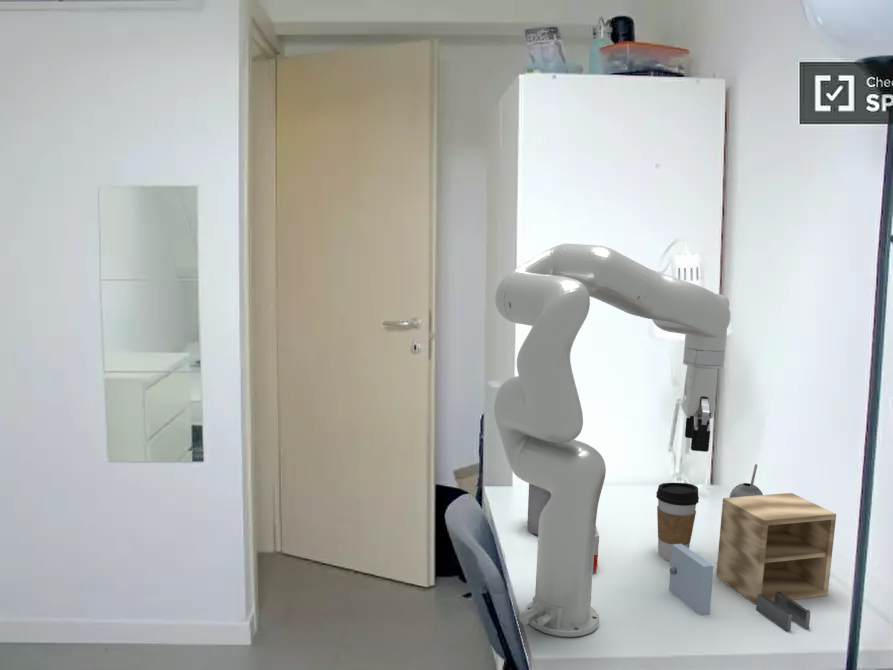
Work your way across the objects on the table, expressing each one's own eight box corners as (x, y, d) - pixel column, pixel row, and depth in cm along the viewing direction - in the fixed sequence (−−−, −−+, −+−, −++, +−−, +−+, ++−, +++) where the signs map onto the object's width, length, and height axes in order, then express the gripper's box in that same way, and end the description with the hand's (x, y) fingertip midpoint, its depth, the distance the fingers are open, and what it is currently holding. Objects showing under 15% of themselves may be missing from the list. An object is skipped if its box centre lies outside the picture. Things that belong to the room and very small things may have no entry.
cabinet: (827, 595, 154) (836, 514, 152) (755, 604, 149) (763, 520, 147) (784, 569, 165) (791, 492, 163) (716, 576, 160) (722, 498, 158)
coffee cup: (695, 566, 165) (701, 494, 163) (652, 561, 167) (658, 490, 164) (692, 550, 173) (697, 482, 171) (651, 545, 175) (656, 478, 173)
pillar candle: (569, 523, 186) (572, 459, 184) (571, 540, 176) (574, 472, 174) (526, 521, 187) (529, 457, 185) (526, 537, 177) (529, 470, 175)
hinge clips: (808, 628, 141) (810, 612, 140) (786, 631, 139) (788, 614, 139) (777, 607, 148) (779, 591, 148) (756, 609, 147) (757, 594, 147)
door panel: (709, 613, 145) (713, 565, 144) (695, 615, 144) (699, 567, 143) (677, 589, 154) (681, 543, 153) (664, 590, 154) (668, 544, 152)
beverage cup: (727, 546, 176) (735, 456, 173) (763, 554, 172) (771, 462, 170) (719, 557, 170) (728, 464, 167) (756, 566, 166) (765, 471, 163)
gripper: (678, 349, 166) (672, 431, 168) (689, 363, 149) (681, 454, 152) (717, 352, 165) (709, 435, 167) (731, 366, 148) (723, 458, 150)
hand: (696, 444), depth 159 cm, fingers open, 9 cm apart
